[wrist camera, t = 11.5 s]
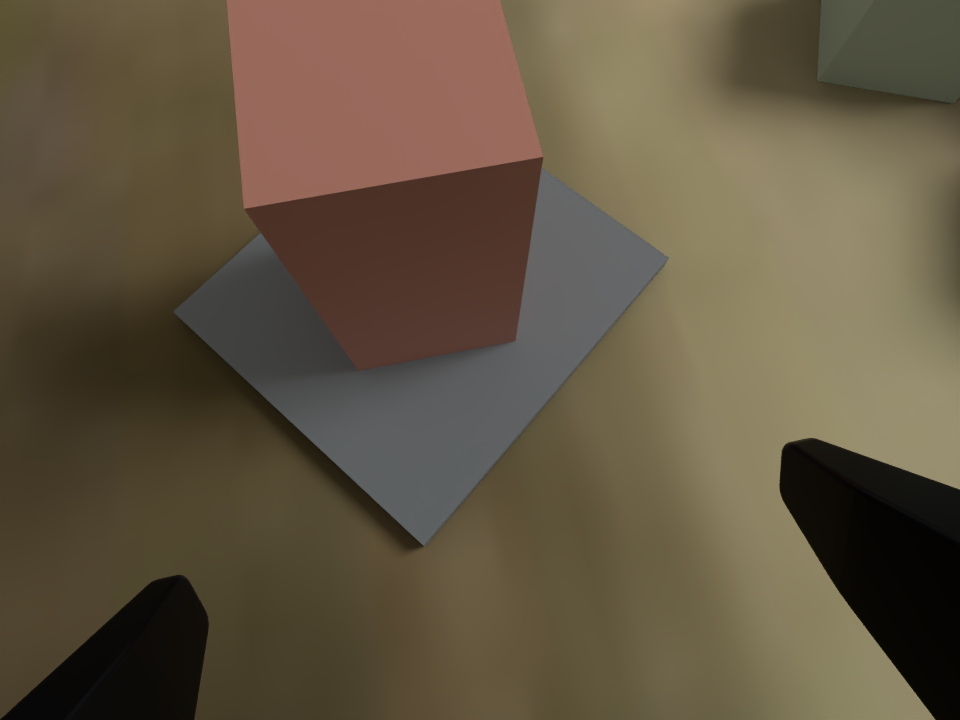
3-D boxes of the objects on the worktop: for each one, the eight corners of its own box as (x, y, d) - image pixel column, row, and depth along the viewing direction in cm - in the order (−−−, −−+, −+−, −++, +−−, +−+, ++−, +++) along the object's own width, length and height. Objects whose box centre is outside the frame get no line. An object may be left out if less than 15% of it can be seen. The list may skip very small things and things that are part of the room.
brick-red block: (515, 341, 18) (543, 156, 10) (358, 370, 18) (244, 208, 9) (484, 206, 20) (484, -56, 11) (339, 232, 19) (225, -16, 11)
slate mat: (425, 546, 17) (423, 546, 16) (180, 317, 19) (172, 311, 19) (664, 265, 20) (669, 257, 19) (425, 94, 22) (424, 84, 21)
